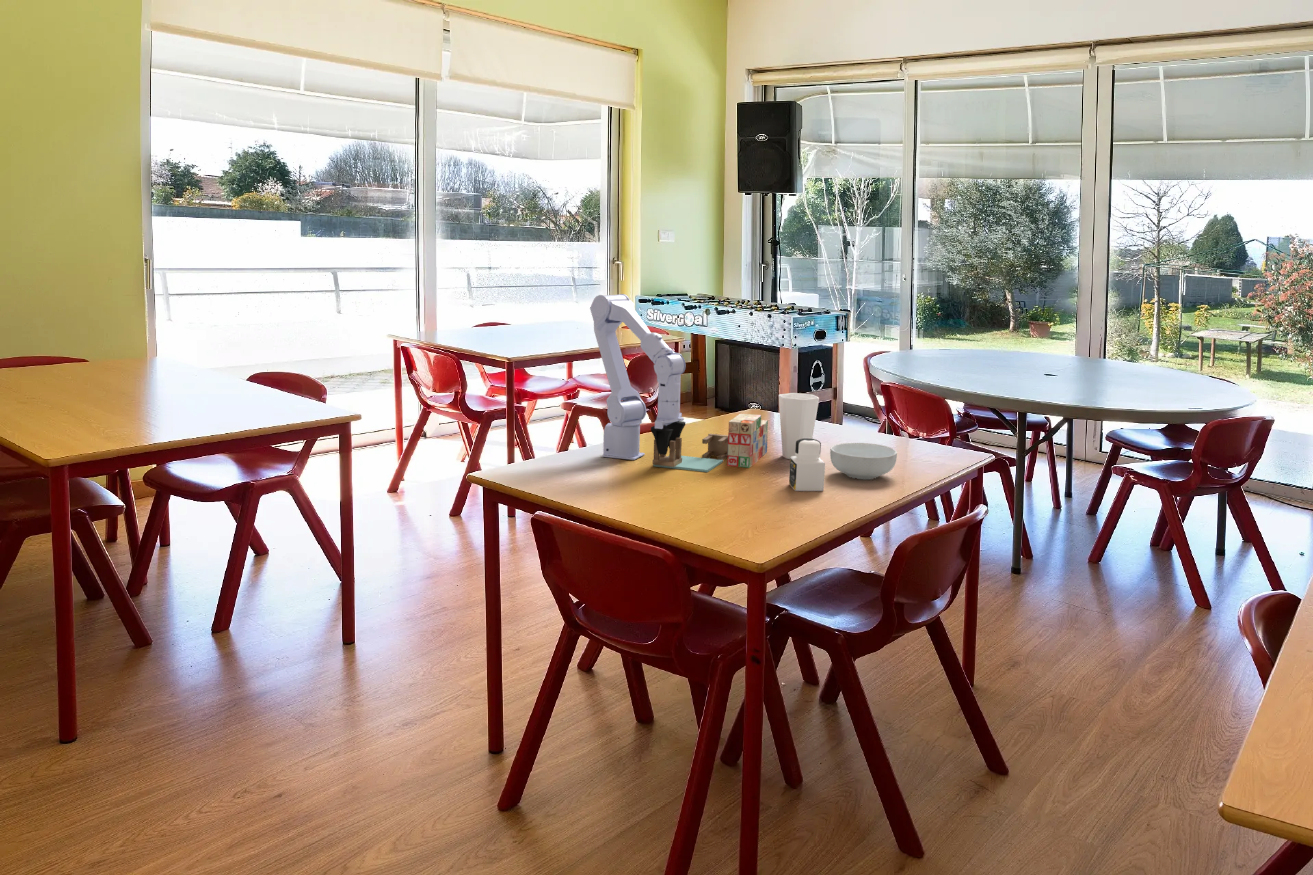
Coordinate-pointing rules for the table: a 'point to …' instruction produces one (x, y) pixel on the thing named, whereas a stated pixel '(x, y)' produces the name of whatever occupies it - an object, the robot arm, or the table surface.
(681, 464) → the mat
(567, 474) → the table surface
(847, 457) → the cereal bowl
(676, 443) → the upturned stool
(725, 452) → the toppled stool
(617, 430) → the robot arm
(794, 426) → the cup
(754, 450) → the stack of blocks
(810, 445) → the medicine bottle
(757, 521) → the table surface
